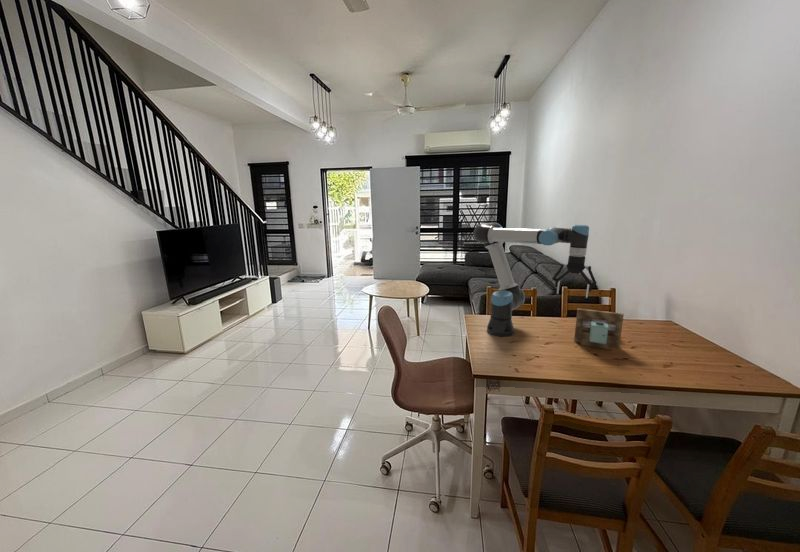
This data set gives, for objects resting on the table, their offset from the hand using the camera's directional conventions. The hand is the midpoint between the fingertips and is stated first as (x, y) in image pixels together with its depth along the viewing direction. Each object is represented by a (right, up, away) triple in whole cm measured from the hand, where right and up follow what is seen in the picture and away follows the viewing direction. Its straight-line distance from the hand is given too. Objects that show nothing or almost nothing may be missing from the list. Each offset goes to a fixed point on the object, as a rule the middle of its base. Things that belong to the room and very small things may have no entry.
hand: (571, 295), depth 167 cm
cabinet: (+9, -22, -7) cm, 25 cm away
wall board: (+11, -26, -2) cm, 28 cm away
